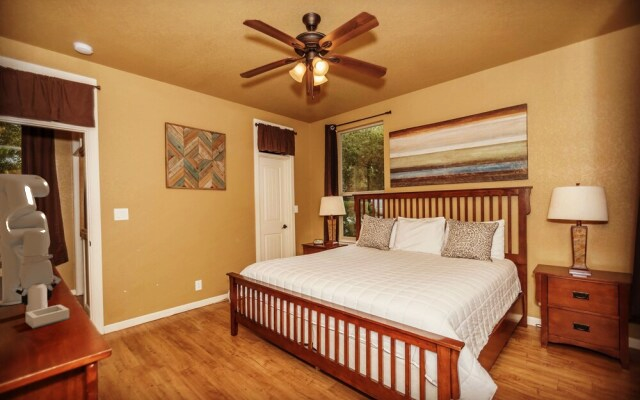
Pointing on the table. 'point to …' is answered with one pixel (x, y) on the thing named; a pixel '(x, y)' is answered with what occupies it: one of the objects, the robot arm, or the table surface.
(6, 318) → the table surface
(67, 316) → the dock socket
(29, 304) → the can
